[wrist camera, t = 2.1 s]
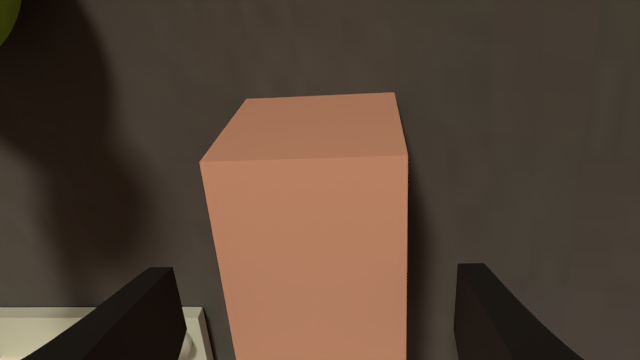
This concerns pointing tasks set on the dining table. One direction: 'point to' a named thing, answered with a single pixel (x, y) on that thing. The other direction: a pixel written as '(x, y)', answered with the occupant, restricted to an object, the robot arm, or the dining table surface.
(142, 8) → the dining table surface
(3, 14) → the snail figurine
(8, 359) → the bottom brick
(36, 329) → the baseplate
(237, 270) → the top brick
